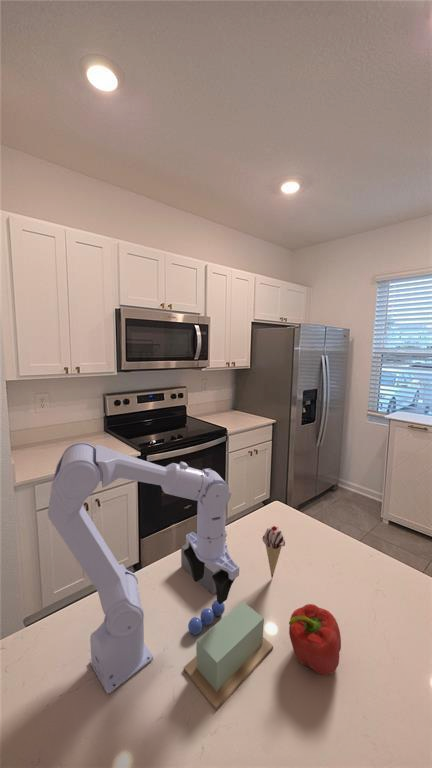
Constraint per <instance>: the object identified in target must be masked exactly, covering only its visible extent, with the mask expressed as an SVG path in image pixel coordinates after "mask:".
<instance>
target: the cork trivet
mask: <svg viewBox="0 0 432 768" xmlns="http://www.w3.org/2000/svg"><path fill="white" fill-rule="evenodd" d="M273 649H274V645H273V644H272V643H271V642H270V641H268V640H267V639H266V638H265V637H264V636H263V644H262V645H261V646H260V647H259V648H258V649H257V650H256V651H255V652H254V653H253V654H252V655H251V657H250V658H249V659H248V660H247V661H246V662H245V663H244V664H243V665H242V666H241V667H240V668H239V669H238V670H237V671H236V672H235V673H234V674H233V675H232V676H231V677H230V678H229V679H228V680H227V681H226V683H225V684H224V685H223V686H222V687H221V688H220V689H219V690H218V691H217V692H216V690H215V689H214V688H213V687H212V686H211V684H210V683H209V682H208V681H207V680H206V679H205V677H204V676H203V675H202V674H201V673H200V671H199V670H198V669H197V668H196V656H194V657H193V658H192V659H191V660H190V661H189V662H188V663H187V664H185V665H184V666H183V671H184V673H186V675H187V676H188V678H189V679H190V680H191V681H192V683H194V685H195V686H196V688H197V689H198V690H199V691H200V692H201V693H202V695H203V696H204V697H205V698H206V699H207V702H209V703H210V705H211V706H212V707H213V708H214V710H215V711H217V710H218V709H219V708H220V707H221V706H222V705H223V704H224V703H225V702H226V701H227V699H228V698H230V696H231V695H232V694H233V693H234V692H235V690H236V689H237V688H238V687H240V685H241V684H242V683H243V682H244V681H245V680H246V679H247V678H248V677H249V675H250V674H251V673H252V672H253V671H254V670H255V669H256V668H257V667H258V666H259V664H261V662H263V660H264V659H265V658H266V656H267V655H268V654H269V653H270V652H271V651H272V650H273Z"/></svg>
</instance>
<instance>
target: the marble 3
mask: <svg viewBox="0 0 432 768" xmlns="http://www.w3.org/2000/svg"><path fill="white" fill-rule="evenodd" d="M211 610H212V611H213V614H214V616H218V617H219V616H222V615H223V614H224V613H225V610H226V607H225V603H224V602H223V603H222V604H219V603H218V602H217V599H216V600H214V601H213V602H212V604H211Z"/></svg>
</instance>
